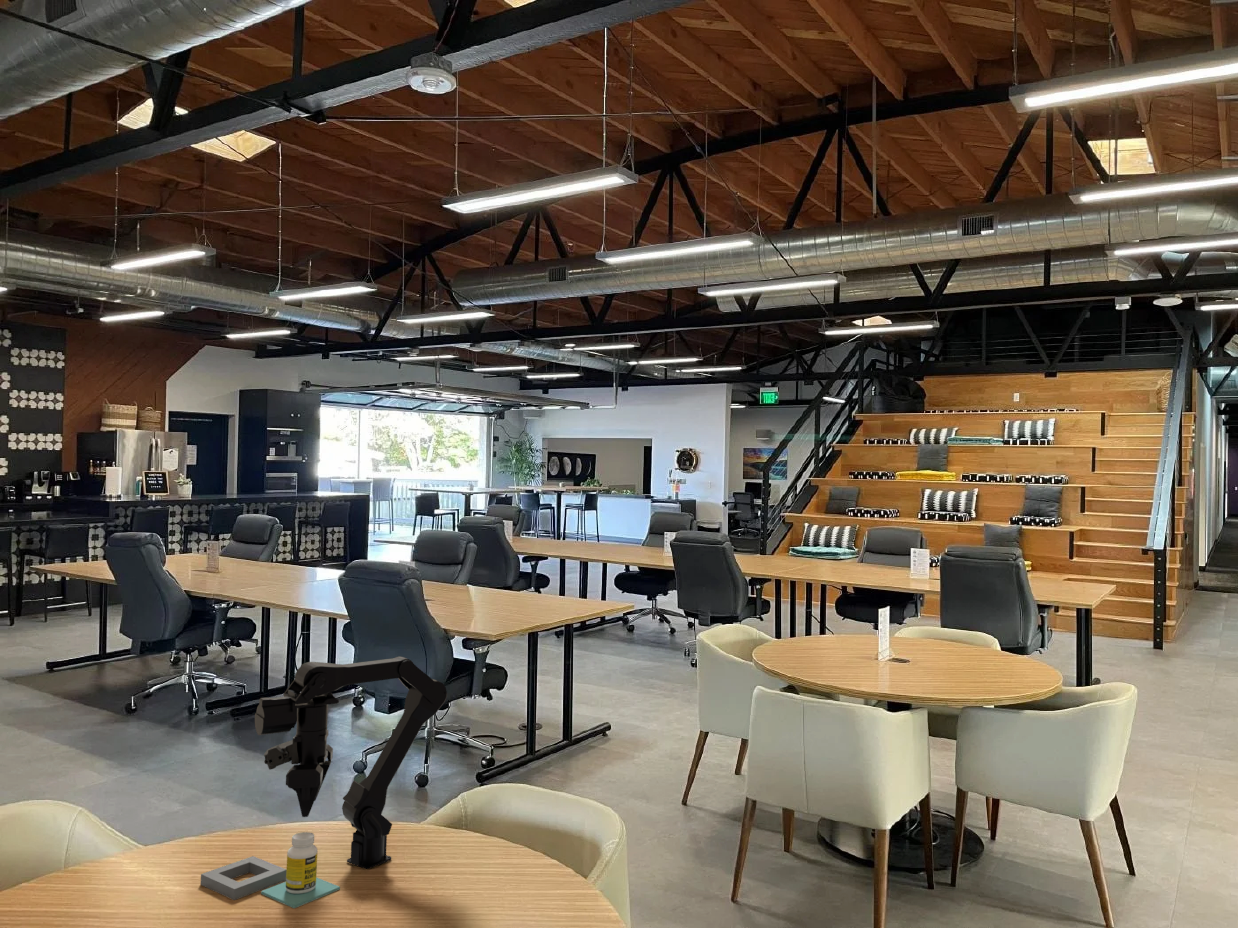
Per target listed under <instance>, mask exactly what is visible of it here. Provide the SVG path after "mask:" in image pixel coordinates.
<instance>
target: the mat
mask: <svg viewBox="0 0 1238 928" xmlns="http://www.w3.org/2000/svg"><path fill="white" fill-rule="evenodd" d="M340 889H341V886H339V885H336V884H334V883H332V882H329V881H327V880H324V879H322V878H319V877H318V876H316V886H315V888H314V889H313V890H311V891H310V892H307V893H303V894H292V893H289V892H287V891H286V881H283V882H280V883H278V884H275V885H273V886H270V887H267V888H265V889H262V890H260V894H261V895H263V896H265V897H267V898H270V899H271V900H274V901H276V902H279V903H281V904H283V905H285V906H287V907H290V908H291V909H296V908H298V907H301V906H303V905H306V904H309V903H311V902H313V901H315V900H318V899H320V898H322V897H325V896H328V895H330V894H332V893H334V892H337V891H339V890H340Z"/></svg>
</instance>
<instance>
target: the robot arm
mask: <svg viewBox="0 0 1238 928" xmlns="http://www.w3.org/2000/svg"><path fill="white" fill-rule="evenodd" d="M394 679H398V680H399V681H400V682H401V684H402V686H404V687H405V688H406V689H408V692H407V694H406V697H405V701H404V707H403V708H404V709H403V713H402V715H401V717H400V719H399V720H398V722H397V725H396V726H395V727H394V730H393V731H392V733H391V735H390V736H389V738H388V740H387V742H386V744H385V746H384V747H383V749H382V751H381V752H380V754H379V756H378V757H377V760H376V761H375V763H374V765H373V766H372V768H371V770H370V771H369V774H367V776H366V777H365V778H364V779H363V780H362V781H361V782H359V783H358V782H357V781H356V780H354V781H352V783H351V785H350V786H349V790H348V792H347V793H346V794H345V795H344V796H343V797H342V800H343V804H342V807H341V809H342V814H343V817H344V818H345V819H346V820H347V821H348V822H349V823H350V825H351V827H352V828H354V829H355V831H354V832H352V841H351V844H350V858H347V859H346V862H347V863H348V864H350V865H353V866H357V867H359V868H362V869H364V870H370V869H373V868H375V867H377V866H380V865H382V864H384V863H388V862H389V861H391V860H392V856H389V855H387V846H388V845H387V844H388V842H387V840H388V835H390V831H391V829H392V826H393V824H392V822H390V821H389V819H387V818H386V817H385V816H384V815H383V811H384V810H385V809H384V808H385V806H386V802H387V793H388V789H389V787H390V785H391V783H392V781H393V778H394V777H395V775H396V773H397V772H398V770H399V768H400V766H401V765H402V763H403V761H404V759H405V757H406V756H407V754H408V752H409V750H410V749H411V747H412V745H413V743H414V742H415V740H416V738H417V736H418V734H419V732H420V730H421V729H422V727H423V725H424V724H425V723H426V722H428V721H429V720H430V719H431V718H433V716H435V715H436V714H437V712H438V711H439V710H440V709H441V708H442V706H443V705H444V704H445V702H446V700H447V698H448V692H447V688H446V685H445V684H444V683H443V682H441V681H438V680H436V679H433V678H431V677H430V676H429V675H428V674H426V673H425V672H424V671H423V670H421V668H419V667H418V666H417V665H416V664H415V663H414V662H413V660H411V659H409V658H406V657H404V656H396V657H394V658H385V659H377V660H369V661H368V660H367V661H360V662H353V663H351V662H350V663H345V664H344V663H343V664H341V663H331V662H320V661H308V662H305V663H302V664H300V666H299V667H298V668H297V670H296V673H295V676H294V679H293V681H292V682H291V684H289V686H288V687H287V688H286V690H285V691H284V692H283V695H282V696H277V697H260V698H259V700H258V701H259V702H258V703H259V704H258V705H257V708H256V712H255V714H254V727H255V732H256V734H257V736H264V735H265V736H266V735H272V734H279V733H280V734H281V733H287V732H291V730H292V729H295V727H296V733H295V735H294V736H293V737H292V739H291V740H288V741H285V742H283V743H280V744H277V745H274V746H272V747H269V748H268V749H266V751H265V752H264V753H263V756H264V762H263V763H264V764H265V765H267V768H268V770H269V771H270V770H274V769H276V768H277V767H279V766H281V765H284V764H287V763H289V762H291V763H290V764H291V765H293V766H292V767H291V768H290V769H288V772H287V773H286V775H285V786H287V787H288V788H289V789H291V790H293V791H294V792H296V796H297V800H298V805H299V809H300V813H301V814H300V815H301V817H302V818H307V817H309V815H310V813H311V810H312V808H313V805H314V802H316V800H317V798H318V795H319V793H320V790H321V788H322V787H323V783H324V780H325V778H326V776H327V773H328V772H329V771H328V770H329V768H330V766H331V763H332V761H333V757H334V756H333V755H334V754H333V753H334V748H333V747H332V746H331V745H330V744H328V743H327V742H328V741H327V740H328V739H327V738H328V736H329V729H328V713H329V712H328V711H329V709H328V707H329V705H336V704H339V702H340V700H339V699H338V698H337V697H336V696H334V695H333V692H335V691H337V690H339V689H341V688H344V687H347V686H349V685H357V684H365V683H372V682H379V681H384V680H385V681H386V680H394Z"/></svg>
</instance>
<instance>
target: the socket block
mask: <svg viewBox="0 0 1238 928" xmlns="http://www.w3.org/2000/svg"><path fill="white" fill-rule="evenodd" d="M286 870H287V868H285V867H281V866H279V865H276V864H274V863H271V862H268V860H267V861H266V860H264V859H262V858H259V857H256V856H254V855H252V856H249V857H247V858H244V859H243V858H242V859H241V860H238V861H235V862H232V863H229V864H226V865H224V866H219V867H217V868H213V869H211V870H209V871H206V872H203V873H201V874H200V886H202V887H205V888H206V889H209V890H211V891H213V892H215V893H217V894H220V895H222V896H224V897H227V898H228V899H231V900H232V901H236V900H238V899H241V898H244V897H247V896H249V895H251V894H254V893H256V892H261V891H263V890H265V889H268V888H271V887H273V886H276V885H278V884H281V883H284V882H286ZM246 874H251V875H254V876H251V877H248V878H246V879H243V880H240V881H237V880H235V878H238V877H241V876H244V875H246Z"/></svg>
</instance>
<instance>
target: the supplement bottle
mask: <svg viewBox="0 0 1238 928" xmlns="http://www.w3.org/2000/svg"><path fill="white" fill-rule="evenodd" d="M314 843H315V834H314V833H313V832H310V831H304V832H302V831H301V832H297V833H295V834H292V837H291V845H292V846H291V847H289V849H288V850H287V854H286V869H287V870H286V881H285V882H286V891H287V892H289V893H292V894H303V893H307V892H310V891H311V890H313V889H314V888H315V886H316V877H317V871H318V870H317V867H318V847H317V845H315V844H314Z"/></svg>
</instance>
